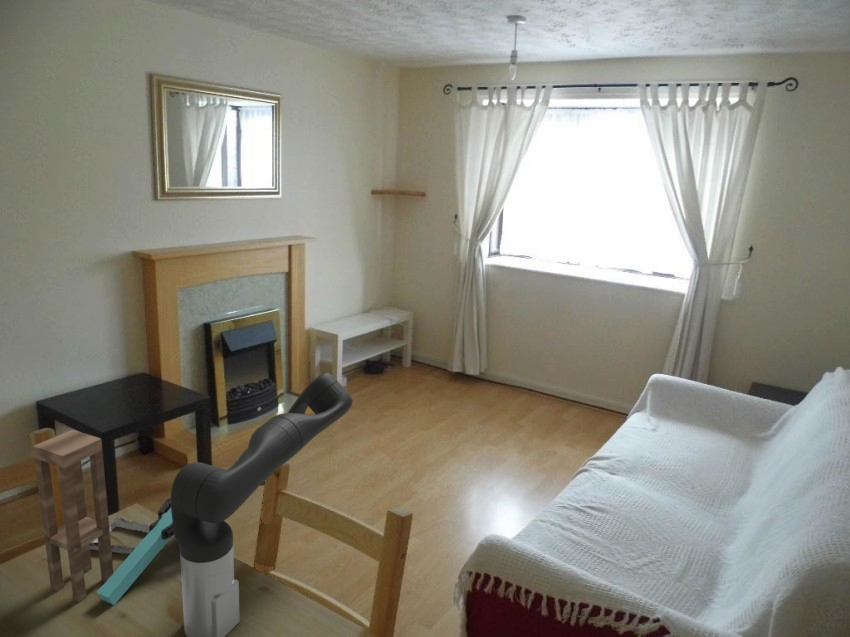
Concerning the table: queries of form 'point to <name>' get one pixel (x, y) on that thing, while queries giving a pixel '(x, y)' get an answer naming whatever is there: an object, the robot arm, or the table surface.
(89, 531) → the walnut stand
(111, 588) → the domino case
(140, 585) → the table surface
